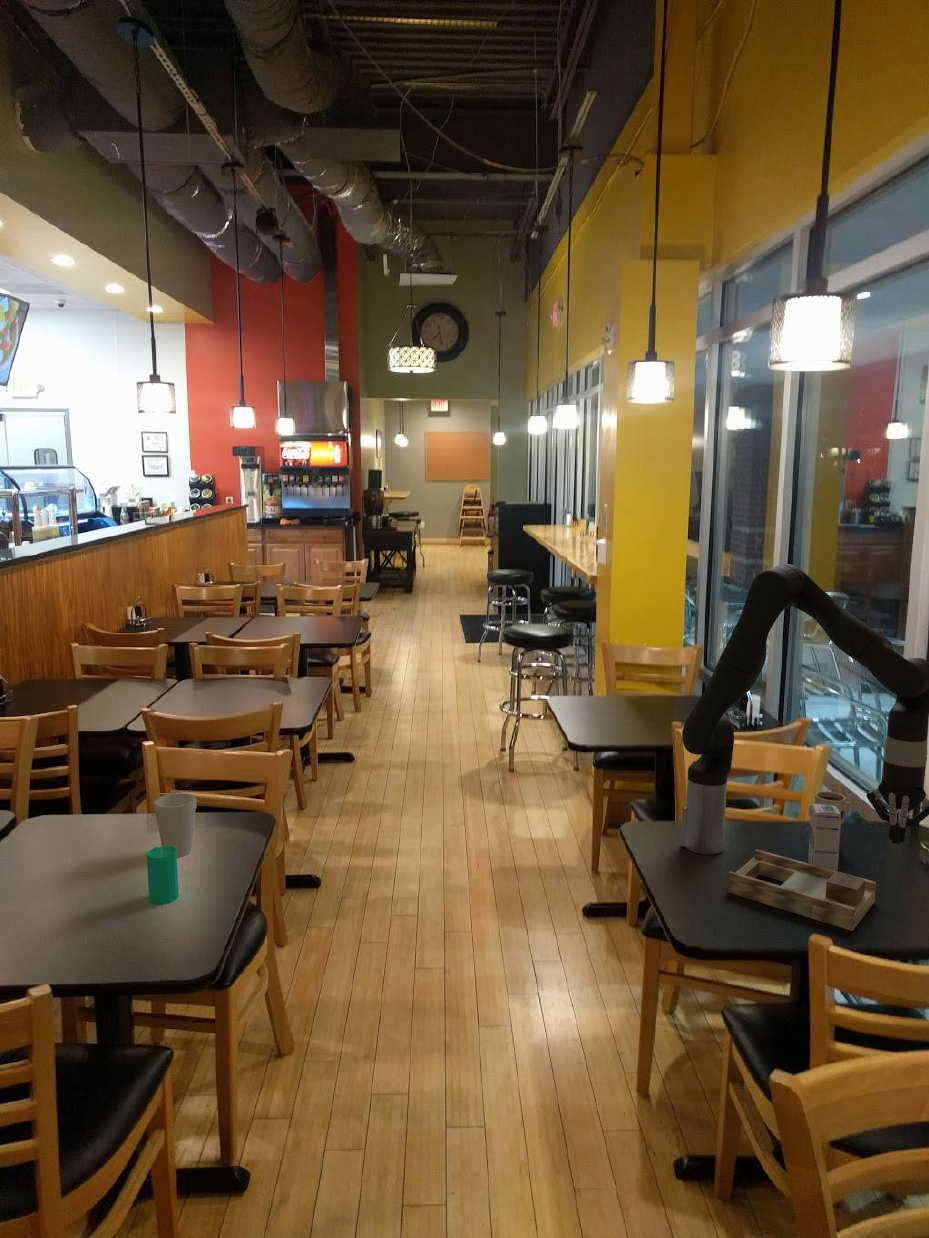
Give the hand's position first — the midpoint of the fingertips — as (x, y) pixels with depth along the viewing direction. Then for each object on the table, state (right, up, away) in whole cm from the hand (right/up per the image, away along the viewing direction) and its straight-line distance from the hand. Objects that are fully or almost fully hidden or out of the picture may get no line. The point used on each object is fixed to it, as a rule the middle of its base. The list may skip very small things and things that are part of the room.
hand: (897, 842), depth 176 cm
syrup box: (-3, -13, +28) cm, 32 cm away
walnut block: (-7, -13, +8) cm, 17 cm away
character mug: (+2, -11, +40) cm, 42 cm away
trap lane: (-14, -15, +14) cm, 25 cm away
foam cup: (-155, -11, +34) cm, 159 cm away
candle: (-150, -15, +11) cm, 151 cm away
